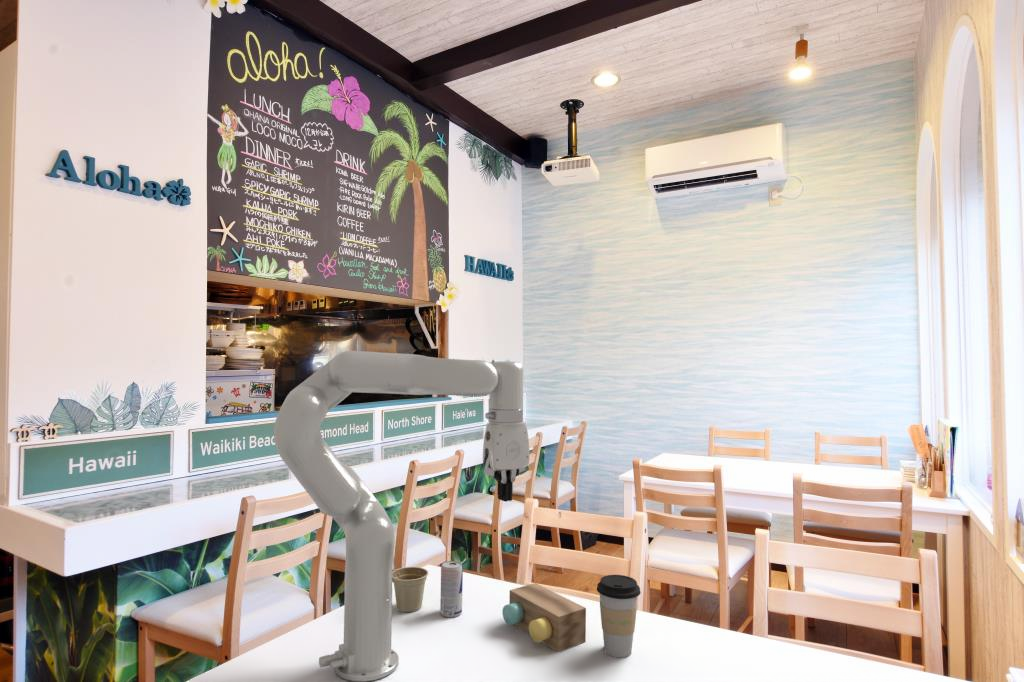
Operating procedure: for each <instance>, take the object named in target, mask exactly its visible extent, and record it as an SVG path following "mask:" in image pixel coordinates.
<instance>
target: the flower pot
mask: <svg viewBox="0 0 1024 682" xmlns="http://www.w3.org/2000/svg"><path fill="white" fill-rule="evenodd" d="M428 576H429V570H428V569H426V568H424V567H418V566H405V567H404V566H403V567H399V568H396V569H394V570H393V572H392V584H393V587H394V595H395V596H394V597H395V604H396V609H397V611H399V612H402V613H407V612H410V613H414V612H416V611H417V612H418V611H420V610H421V609H422V606H423V599H424V593H425V592H424V591H425V585H426V581H427V577H428Z"/></svg>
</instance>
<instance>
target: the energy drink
mask: <svg viewBox="0 0 1024 682" xmlns="http://www.w3.org/2000/svg"><path fill="white" fill-rule="evenodd" d="M463 570H464V568H463V563H462V562H460V561H455V560H448V561H445V562H443V563H442V564H441V567H440V607H439V608H440V609H439V610H440V615H441V616H442V617H444V618H450V619H451V618H458V617H459V616H461V614H462V613H463V579H464V578H463V577H464V576H463V574H464V572H463Z"/></svg>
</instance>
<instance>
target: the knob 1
mask: <svg viewBox="0 0 1024 682" xmlns="http://www.w3.org/2000/svg"><path fill="white" fill-rule="evenodd" d="M501 614H502V618H503V620H504V622H505V624H506V625H507V626H513V625H514V624H516V623H520V622H522V621H523V619H524V611H523V608H522V606H521V604H520V603H518V602H515V603H512V604H509V603H508V604H505V605H504V606H503V607H502V613H501Z"/></svg>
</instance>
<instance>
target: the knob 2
mask: <svg viewBox="0 0 1024 682" xmlns="http://www.w3.org/2000/svg"><path fill="white" fill-rule="evenodd" d="M529 633H530V634H529V635H530V638H531V640H532V641H533V642H534V643H540V642H541V641H543V640H546V639H549V638H550V637H551V635H552V627H551V624H550V622H549V621H548V619H547V618H545V617H542V618H539V619H536V620H533V621H531V622H530V624H529Z"/></svg>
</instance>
